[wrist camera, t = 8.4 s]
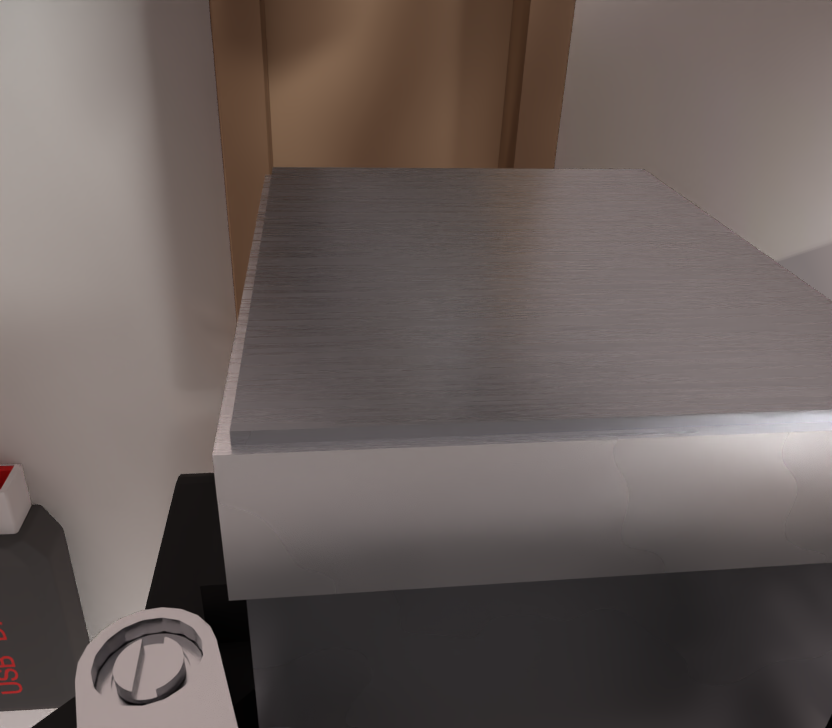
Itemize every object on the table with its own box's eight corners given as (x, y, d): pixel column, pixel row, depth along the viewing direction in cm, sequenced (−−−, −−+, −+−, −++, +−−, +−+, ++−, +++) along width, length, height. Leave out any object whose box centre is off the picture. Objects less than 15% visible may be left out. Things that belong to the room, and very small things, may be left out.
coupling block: (650, 169, 10) (1004, 411, 5) (563, 629, 15) (704, 1015, 9) (264, 166, 10) (212, 442, 4) (293, 648, 14) (283, 1073, 9)
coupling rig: (600, -388, 18) (753, -561, 12) (495, 505, 32) (540, 649, 26) (177, -430, 17) (93, -646, 11) (256, 516, 31) (240, 670, 25)
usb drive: (-21, 673, 34) (-46, 728, 32) (-95, 460, 28) (-133, 509, 26) (99, 667, 35) (83, 720, 33) (51, 457, 29) (27, 504, 27)
